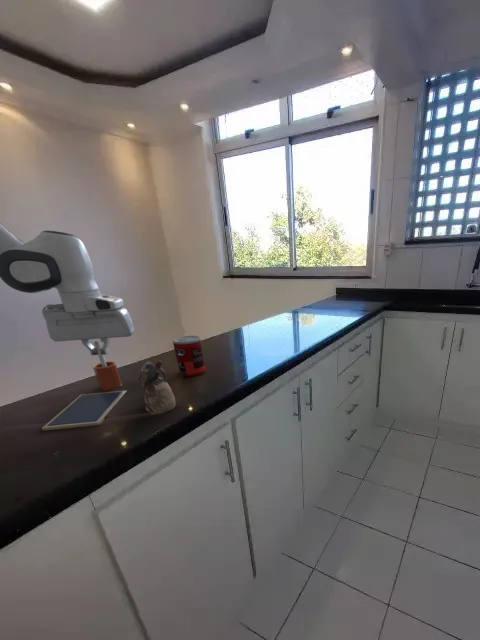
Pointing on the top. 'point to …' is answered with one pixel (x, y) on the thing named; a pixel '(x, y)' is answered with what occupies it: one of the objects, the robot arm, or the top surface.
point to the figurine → (156, 389)
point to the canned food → (189, 355)
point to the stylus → (100, 354)
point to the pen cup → (107, 376)
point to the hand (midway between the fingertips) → (100, 354)
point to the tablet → (85, 411)
